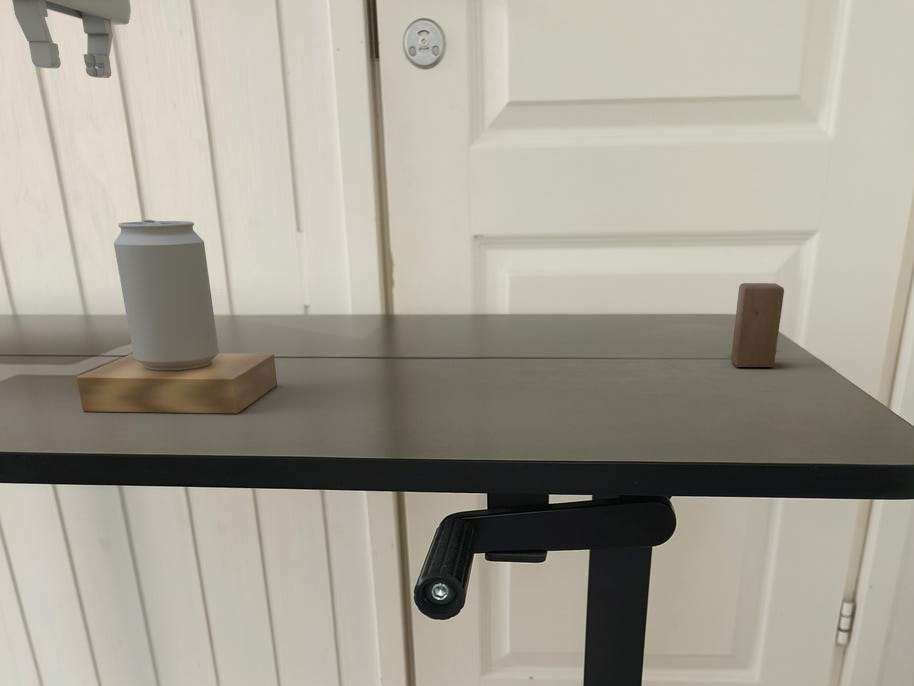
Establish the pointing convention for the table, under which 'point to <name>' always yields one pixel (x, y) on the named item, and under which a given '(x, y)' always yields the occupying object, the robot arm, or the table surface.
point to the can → (166, 294)
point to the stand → (178, 386)
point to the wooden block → (757, 324)
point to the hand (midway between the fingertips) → (74, 72)
